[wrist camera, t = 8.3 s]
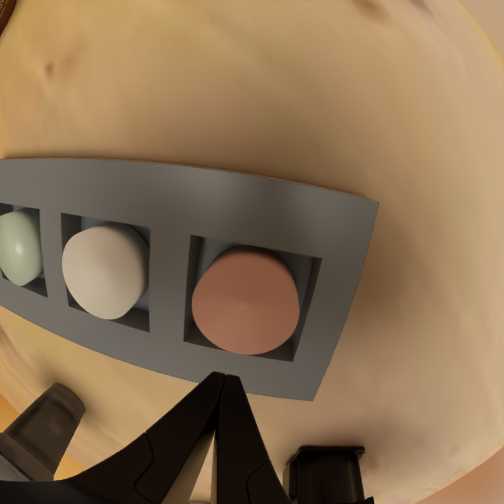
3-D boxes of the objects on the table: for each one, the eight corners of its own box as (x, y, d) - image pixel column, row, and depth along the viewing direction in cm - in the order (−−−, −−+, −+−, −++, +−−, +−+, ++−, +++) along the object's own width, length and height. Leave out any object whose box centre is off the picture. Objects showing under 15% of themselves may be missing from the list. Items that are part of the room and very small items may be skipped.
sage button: (52, 210, 15) (27, 218, 12) (57, 280, 16) (36, 293, 14) (13, 204, 15) (-9, 211, 13) (18, 265, 16) (-2, 276, 14)
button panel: (364, 196, 13) (379, 202, 11) (310, 376, 17) (312, 401, 15) (4, 158, 14) (-16, 161, 12) (14, 293, 18) (-2, 303, 16)
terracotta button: (305, 254, 14) (310, 272, 12) (285, 335, 16) (286, 361, 13) (208, 237, 14) (196, 251, 12) (200, 319, 16) (189, 343, 14)
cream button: (155, 228, 14) (134, 239, 12) (153, 308, 16) (136, 329, 14) (84, 216, 15) (59, 225, 12) (88, 290, 16) (67, 306, 14)
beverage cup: (53, 405, 23) (-21, 512, 4) (36, 363, 21) (-63, 479, 2) (101, 430, 23) (33, 557, 4) (87, 390, 20) (-9, 539, 1)
